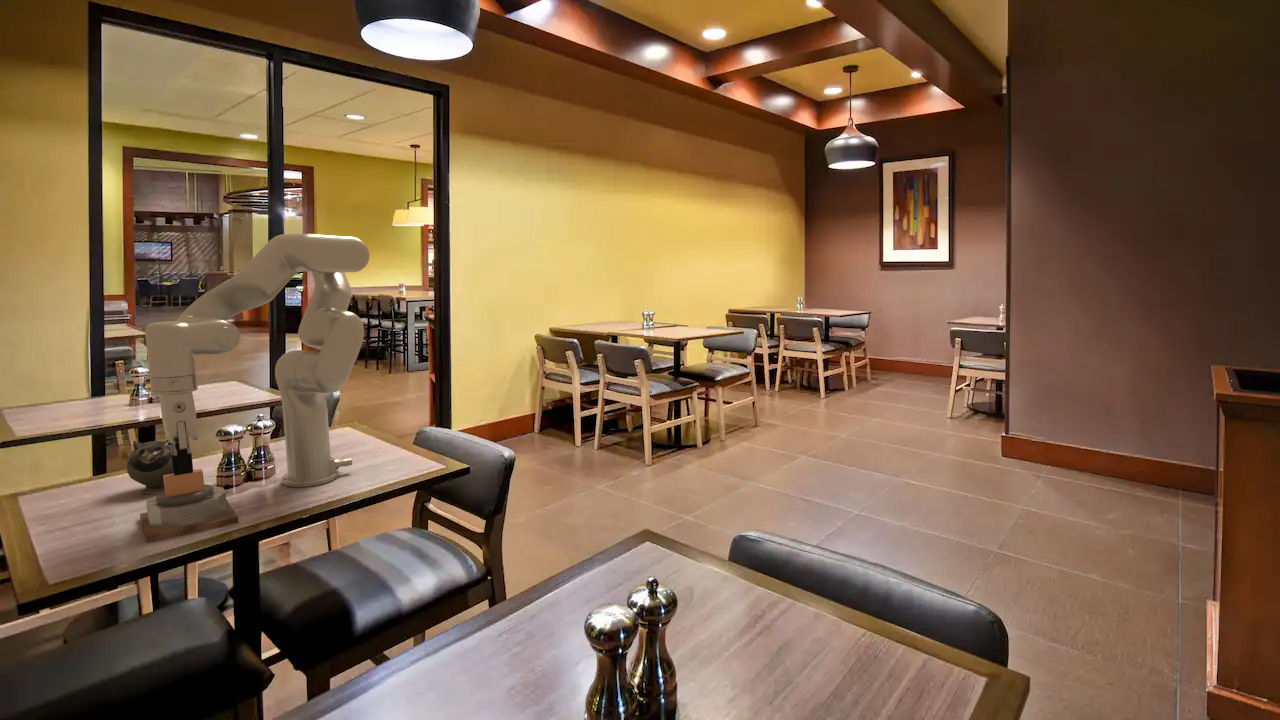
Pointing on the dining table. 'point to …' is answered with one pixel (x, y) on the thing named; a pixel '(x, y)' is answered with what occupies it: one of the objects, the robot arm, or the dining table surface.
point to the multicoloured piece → (184, 489)
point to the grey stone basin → (187, 511)
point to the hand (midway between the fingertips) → (183, 473)
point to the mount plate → (160, 534)
